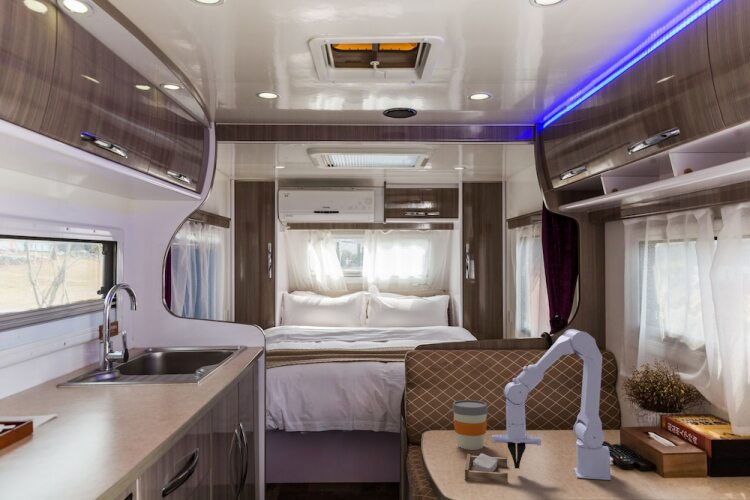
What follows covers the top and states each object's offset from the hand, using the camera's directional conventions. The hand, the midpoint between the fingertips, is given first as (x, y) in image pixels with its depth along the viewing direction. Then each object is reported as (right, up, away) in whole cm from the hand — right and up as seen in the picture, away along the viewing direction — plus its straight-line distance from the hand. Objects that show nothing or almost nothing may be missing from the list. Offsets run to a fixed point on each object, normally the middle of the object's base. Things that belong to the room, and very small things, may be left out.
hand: (516, 467), depth 169 cm
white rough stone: (-9, -3, +3) cm, 10 cm away
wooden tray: (-8, -2, +2) cm, 9 cm away
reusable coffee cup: (-9, -4, +29) cm, 31 cm away
